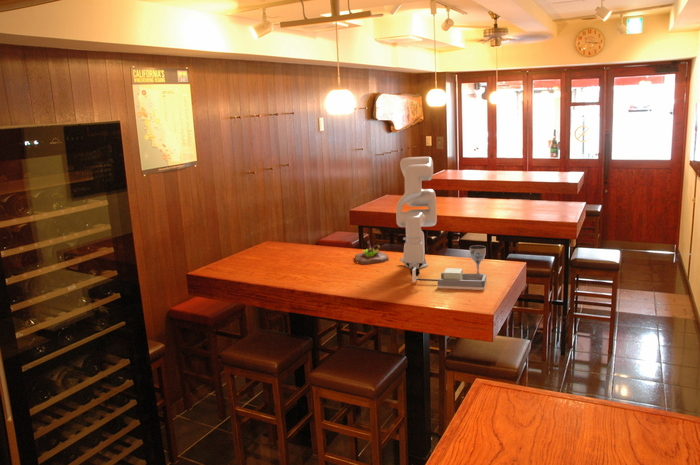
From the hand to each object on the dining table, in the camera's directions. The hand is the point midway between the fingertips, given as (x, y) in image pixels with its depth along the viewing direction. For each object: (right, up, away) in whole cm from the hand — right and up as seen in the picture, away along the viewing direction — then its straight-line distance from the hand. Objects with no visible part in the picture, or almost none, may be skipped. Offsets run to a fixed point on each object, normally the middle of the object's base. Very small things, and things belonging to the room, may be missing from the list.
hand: (415, 275), depth 284 cm
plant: (-20, +5, +51) cm, 55 cm away
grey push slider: (+11, -3, -3) cm, 11 cm away
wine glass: (+33, -1, +8) cm, 34 cm away
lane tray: (+22, -4, -6) cm, 24 cm away
